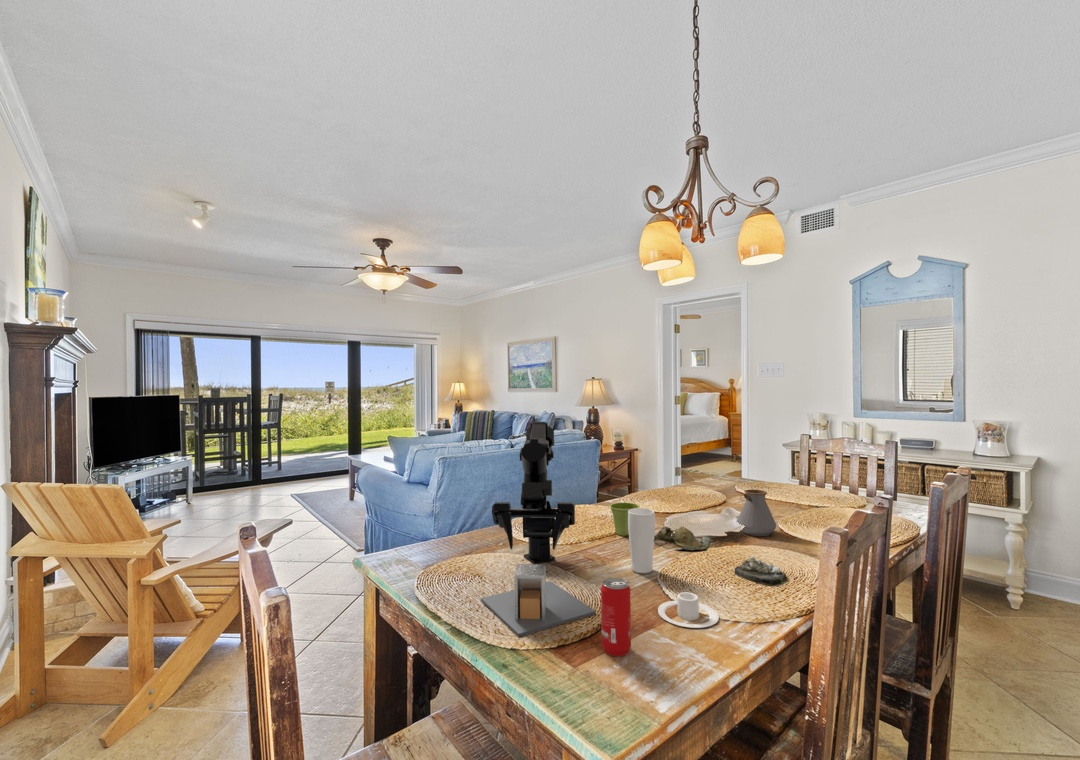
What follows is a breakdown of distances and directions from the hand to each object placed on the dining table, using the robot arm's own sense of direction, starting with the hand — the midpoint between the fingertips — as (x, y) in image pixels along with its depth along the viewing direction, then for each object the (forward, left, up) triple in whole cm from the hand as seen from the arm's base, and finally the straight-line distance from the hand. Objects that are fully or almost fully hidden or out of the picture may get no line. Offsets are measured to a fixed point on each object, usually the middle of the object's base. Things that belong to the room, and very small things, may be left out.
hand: (532, 548), depth 108 cm
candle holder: (+21, +25, -13) cm, 35 cm away
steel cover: (+5, -3, -11) cm, 13 cm away
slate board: (+2, 0, -12) cm, 12 cm away
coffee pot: (-5, +80, -12) cm, 81 cm away
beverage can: (+24, +4, -12) cm, 27 cm away
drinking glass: (-2, +33, -12) cm, 35 cm away
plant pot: (-28, +49, -12) cm, 58 cm away
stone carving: (+16, +55, -13) cm, 59 cm away
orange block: (+5, -3, -11) cm, 13 cm away
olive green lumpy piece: (-13, +59, -13) cm, 61 cm away
